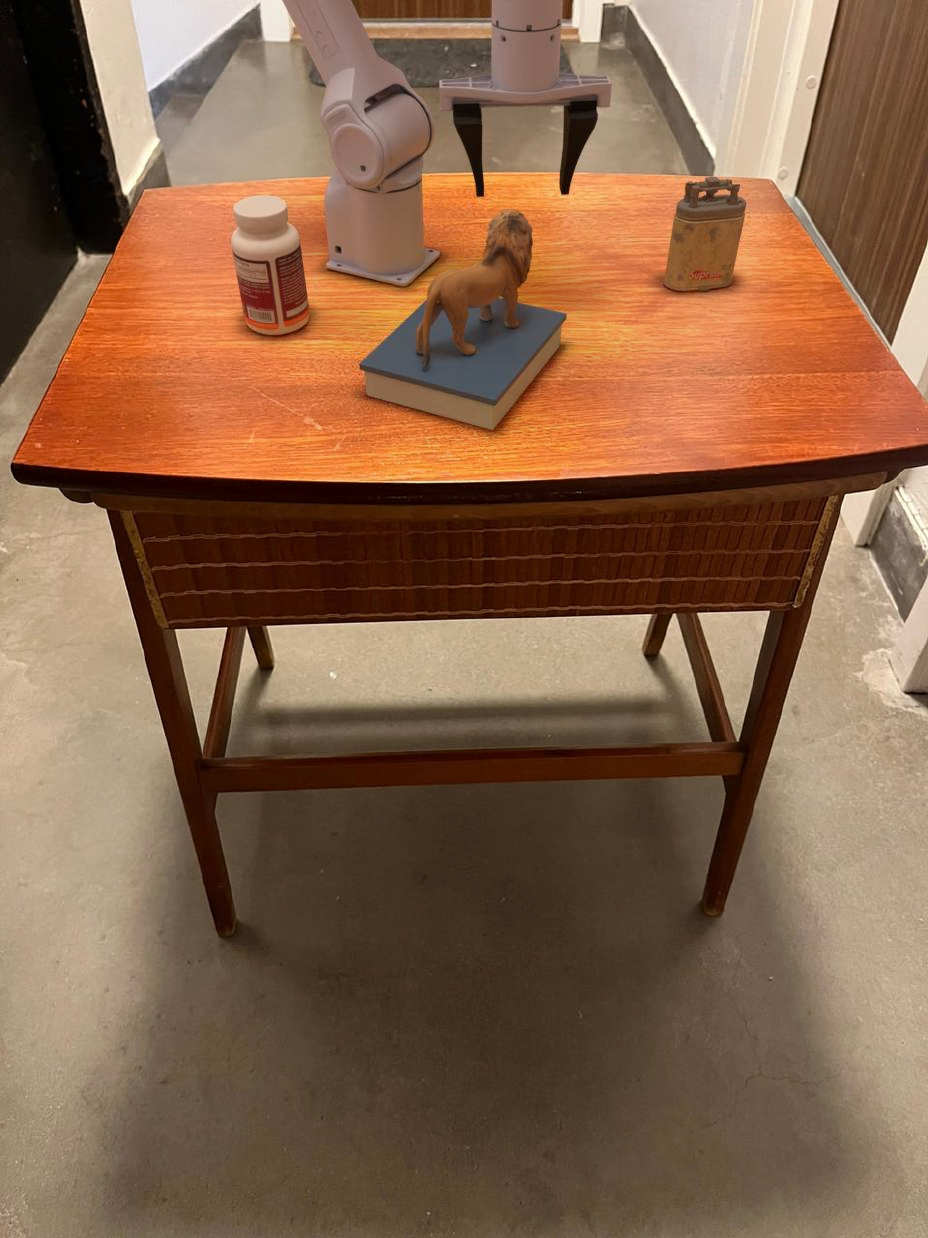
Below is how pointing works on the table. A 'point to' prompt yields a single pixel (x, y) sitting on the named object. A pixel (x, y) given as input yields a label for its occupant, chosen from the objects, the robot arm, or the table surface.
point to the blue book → (465, 363)
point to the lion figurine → (481, 282)
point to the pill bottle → (269, 266)
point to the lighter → (705, 236)
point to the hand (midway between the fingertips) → (522, 191)
